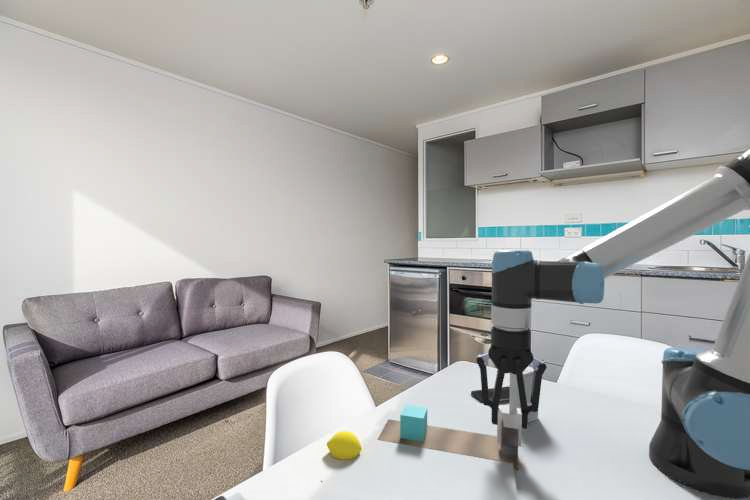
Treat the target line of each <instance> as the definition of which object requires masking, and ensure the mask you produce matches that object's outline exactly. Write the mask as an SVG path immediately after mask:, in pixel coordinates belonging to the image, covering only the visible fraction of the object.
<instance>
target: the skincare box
mask: <svg viewBox="0 0 750 500" xmlns="http://www.w3.org/2000/svg"><path fill="white" fill-rule="evenodd" d="M533 374H534V369H533V367H531V366H530V365H529V366H528V367H527V368H526V369H525V370H524V371H523V379H524V386H525V393H526V400H527V403H530V399H531V391H532V382H533ZM509 386H510V401H509V403H508V405H509V411H508V412H509V413H508V414H515V415H516V417H517V408H521V406H520V399H519V392H518V385H517V378H516V374H512V373H509ZM538 418H539V410H538V411H537V412H529V414H528V423H530V422H532V421H535V420H537V419H538Z"/></svg>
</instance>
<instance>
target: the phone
mask: <svg viewBox="0 0 750 500" xmlns="http://www.w3.org/2000/svg"><path fill="white" fill-rule="evenodd" d="M493 392H494V387H492V388H488V394H489V398H492V397H493ZM470 395H471V396H472V397H473V399H475V398H476V399H475V400H476V401H478V402H479V403H481V404H483V399H482V389H476V390H472V391H471V392H470ZM509 401H510V385H509V386H502V390H501V396H500V401H499V405H500V404H501V405H503V404H509Z"/></svg>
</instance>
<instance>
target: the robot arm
mask: <svg viewBox="0 0 750 500" xmlns="http://www.w3.org/2000/svg"><path fill="white" fill-rule="evenodd" d="M743 211H750V147H749V148H747V149H746V150H745V151H743V152H742V153H740V154H739V155H737V156H735V158H732V159H731V160H729V161H728V162H726V163H725V164H723V165H722V164H721V165H720V166H719V167H718V168H716V170H715V173H714V176H712V177H710V178H709V179H707V180H705V181H703V182H702V183H700V184H698V185H696V186H694V187H692V188H690V189H688V190H686V191H684V192H682V193H681V194H680V195H678V196H676V197H674V198H672V199H670V200H668V201H666V202H664V203H663V204H661V205H660V206H658V207H655V208H654V209H652V210H650V211H648V212H647V213H645V214H643V215H641V216H639V217H638V218H636V219H634V220H632V221H630V222H629V223H627V224H624V225H623V226H620V227H619V228H617V229H615V230H613V231H612V232H609V233H608V234H606V235H604V236H602V237H601V238H599V239H597V240H596V241H593V242H592V243H589V244H588V245H586V246H584V247H583V248H582V249H579V250H578V251H575V252H573V253H572V254H570V255H568V256H566V257H563V258H561V259H559V260H557V261H556V260H555V261H554V260H553V261H552V260H547V261H545V260H536V259H534V257H533V256H534V255H533V252H532V251H531V250H527V249H523V250H522V249H499V250H496V251H495V252H494V253H493V256H492V266H491V267H492V270H491V273H490V274H491V315H490V317H491V318H490V319H491V320H490V322H491V324H492V326H491V328H490V347H489V349H488V351H487V352H486V353H483V354H481V353H478V354H477V355H476V360H475V361H476V363H477V365H478V368H479V369H480V370H479V371H480V382H481V383H480V384H481V386H480V387H481V390H482V399H483V403H482V404H483V405H484V406H486V407H489V408H490V409H491V424H492V425H496V427H497V428H496V436H497V443H501V430H502V413H503V411H502V410H503V408H502V405H500V404H499V401H500V396H501V390H502V387H503V384H504V379H505V374H510V373H512V374H516V378H517V385H518V392H519V399H520V406H521V408H517V417H516V418H517V424H518V448H519V447H522V433H523V432H522V429H524V430H527V429H528V423H529V422H528V414H529V412H537V411H538V412H539V405H540V396H541V388H542V387H541V386H542V379H543V375H544V374H545V371H546V369H547V364H546V362H545V361H544V359H538V358H537V357H535V356H534V354H533V353H532V351H531V350H532V349H531V348H532V347H531V346H532V330H531V329H530V327H531V326H532V300H539V301H540V300H546V301H554V302H568V303H577V304H578V303H579V304H580V305H584V304H601V303H602V302H603V301H604V298H605V297H604V296H605V279H607V278H608V277H610V276H611V277H612V275H615V274H618V273H619V272H621V271H623V270H625V269H627V268H629V267H632V266H633V265H635V264H638V263H639V262H641V261H643V260H645V259H647V258H650V257H651V256H653V255H655V254H658V253H660V252H661V251H664V250H666V249H668V248H670V247H672V246H674V245H676V244H678V243H680V242H682V241H685V240H686V239H688V238H690V237H692V236H694V235H696V234H698V233H700V232H702V231H705V230H707V229H708V228H710V227H713V226H714V225H717V224H719V223H720V222H723V221H725V220H728V219H729V218H730V217H733V216H735V215H737V214H739V213H741V212H743ZM727 308H728V309H727V311H726V314H725V316H724V319H723V321H722V324H721V327H720V328H719V332H718V333H717V336H716V339H715V342H714V344H713V347H712V349H710V350H707V349H700V348H693V347H692V348H691V347H688V348H687V347H680V346H679V347H678V346H675V347H674V346H672V347H667V348H666V349H664V351H663V354H662V355H663V356H662V360H661V364H662V374H661V375H662V378H661V379H662V380H661V413H660V414H661V415H660V422H659V424H658V426H657V428H656V430H655V432H654V434H653V436H652V438H651V440H650V441H649V447H648V448H649V449H648V456H649V460H650V461H651V463H652V464H653V465H654V466H655V467H656V468H657V469H658V470H659V471H660V472H662V473H663V474H665V475H667V476H668V477H669V478H672V479H674V480H675V481H677V482H679V483H682V484H684V485H686V486H688V487H689V488H693V489H696V490H698V491H701V492H704V493H709V494H712V495H715V496H721V497H725V498H726V497H727V498H737V499H738V498H747V497H750V253H749V254H748V257H747V259H746V262H745V264H744V267H743V269H742V272H741V274H740V277H739V279H738V282H737V285H736V287H735V290H734V292H733V295H732V298H731V300H730V304H729V306H728V307H727ZM489 360H491V362H492V363H493V365H494V366H495V367H496V376H495V382H494V386H493V388H494V392H493V397H492V398H489V394H488V389H489V385H488V384H489V382H488V371H487V366H488V365H489ZM530 364H532V368H533V369H534V374H533V382H532V391H531V399H530V403H527V400H526V393H525V386H524V379H523V371H524V370H525V369H526V368H527V367H528V366H529V367H530Z"/></svg>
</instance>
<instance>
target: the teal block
mask: <svg viewBox="0 0 750 500" xmlns="http://www.w3.org/2000/svg"><path fill="white" fill-rule="evenodd" d="M399 419H400V420H399V421H400V438H403V439H409V440H415V441H421V442H424V438H425V435H426V432H427V425H428V407H422V406H416V405H410V404H405V405H404V406H403V408H402V411H401V413H400V416H399Z"/></svg>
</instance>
